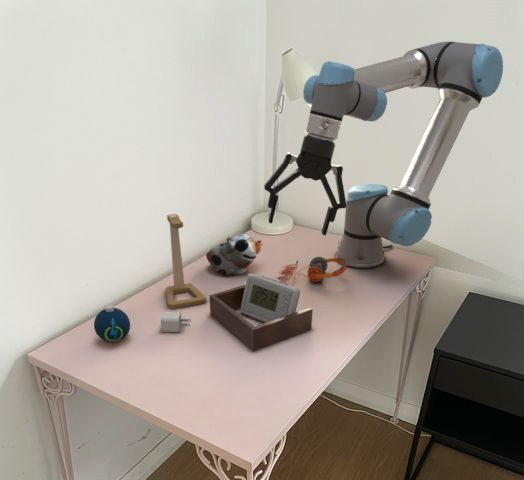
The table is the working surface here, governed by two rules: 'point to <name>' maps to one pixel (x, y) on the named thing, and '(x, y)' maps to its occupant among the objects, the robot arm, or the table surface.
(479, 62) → the robot arm
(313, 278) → the headphones
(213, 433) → the table surface
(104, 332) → the christmas ornament
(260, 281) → the digital clock
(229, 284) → the table surface
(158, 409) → the table surface
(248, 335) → the walnut rack
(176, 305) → the headphone stand
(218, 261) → the spotted toy animal
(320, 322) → the table surface
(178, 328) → the usb wall charger
